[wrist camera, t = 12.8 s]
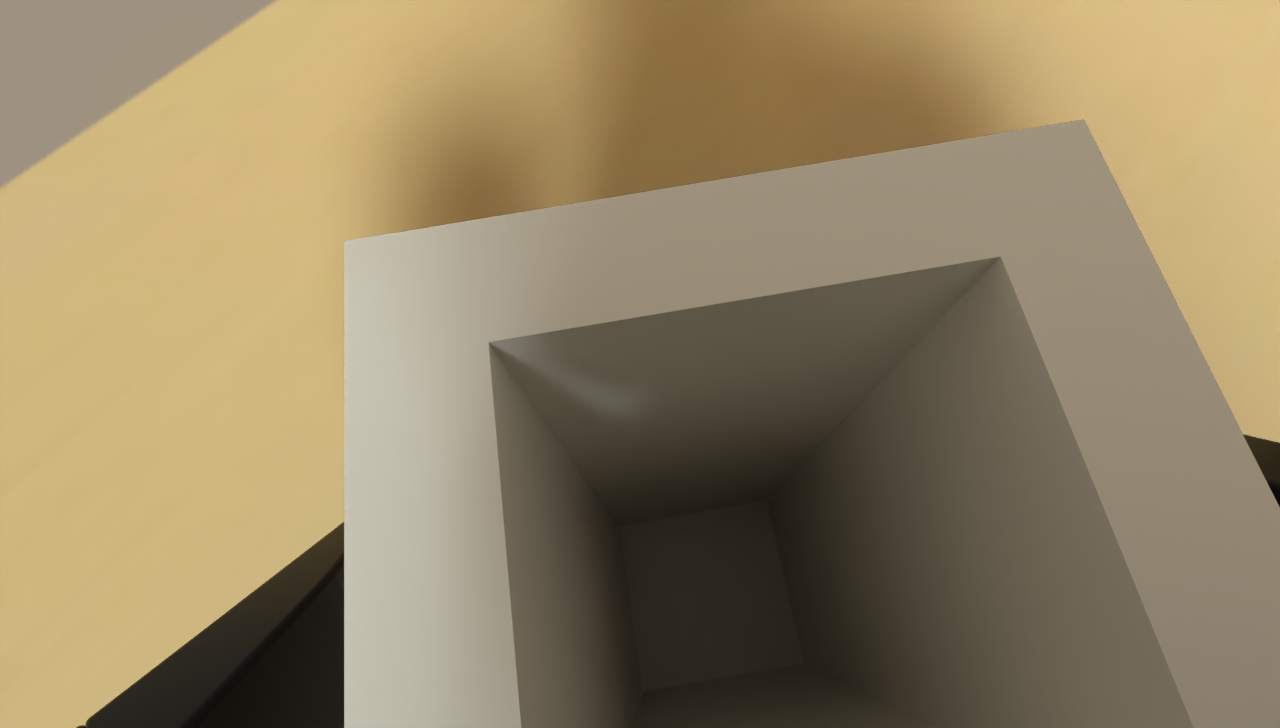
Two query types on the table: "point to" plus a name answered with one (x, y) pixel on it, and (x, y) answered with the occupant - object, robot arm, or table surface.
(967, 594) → the white square vase
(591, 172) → the table surface
